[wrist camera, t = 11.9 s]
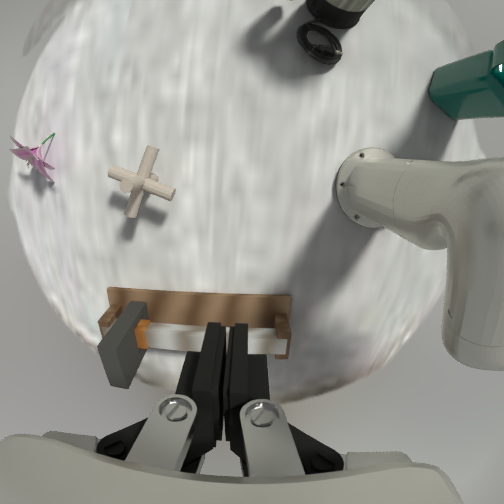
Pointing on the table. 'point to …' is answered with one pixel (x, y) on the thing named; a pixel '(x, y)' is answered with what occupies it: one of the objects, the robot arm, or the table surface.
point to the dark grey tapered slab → (123, 346)
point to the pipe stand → (203, 318)
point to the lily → (32, 156)
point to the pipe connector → (141, 182)
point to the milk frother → (334, 15)
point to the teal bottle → (471, 86)
